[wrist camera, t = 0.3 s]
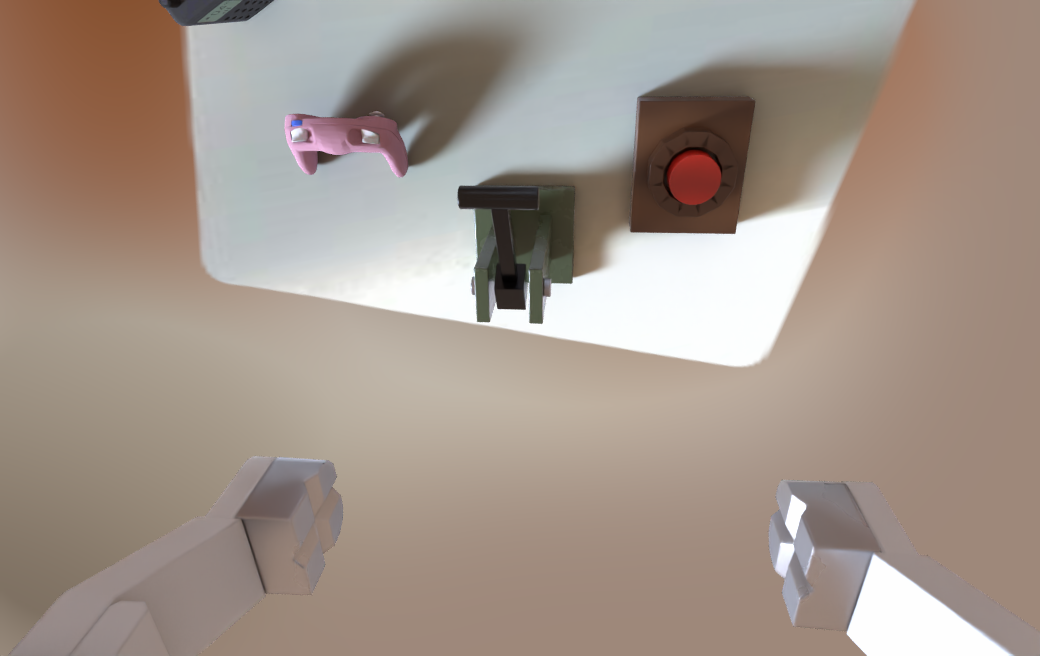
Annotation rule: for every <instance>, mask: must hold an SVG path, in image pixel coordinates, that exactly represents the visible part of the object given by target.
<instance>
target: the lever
mask: <svg viewBox="0 0 1040 656" xmlns="http://www.w3.org/2000/svg"><path fill="white" fill-rule="evenodd" d="M539 201H540V191H539V187H538V186H459V189H458V206H459V208H460V209H491V214H492V220H493V227H494V233H495V239H496V245H497V252H498V258H499V263H497V266H496V275H495V284H494V292H495V297H496V303H497V308H498V309H521V310H525V309H526V299H527V287H528V282H527V272H526V264H522V263H517V262H516V253H515V245H514V237H513V228H512V220H511V211H510V210H538V209H539Z"/></svg>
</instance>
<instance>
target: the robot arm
mask: <svg viewBox="0 0 1040 656" xmlns="http://www.w3.org/2000/svg"><path fill="white" fill-rule="evenodd" d="M336 478H337V476H336V472H335V468H334V464H333V463H332V462H330V461H328V460H316V459H300V458H286V457H279V458H277V457H264V456H253V457H251V458H249V459H248V460H247V461H246V462H245V463H244V464H243V466H242V467H241V468H240V470H239V471H238V472H237V474H236V475H235V477H234V478H233V479H232V481H231V482H230V483H229V485H228V486H227V487H226V489H225V490H224V492H223V493H222V494H221V496H220V497H219V498H218V500H217V501H216V502H215V504H214V505H213V506H212V508H211V509H210V510H209V512H208V513H207V514H206V516H205V517H195V518H193V519H192V520H190V521H188V522H186V523H185V524H183V525H181V526H179V527H178V528H176V529H174V530H172V531H171V532H169V533H167V534H166V535H164V536H162V537H160V538H159V539H157V540H155V541H153V542H152V543H150V544H148V545H146V546H145V547H143V548H141V549H139V550H138V551H136V552H134V553H132V554H131V555H129V556H127V557H126V558H124V559H122V560H120V561H118V562H117V563H115V564H113V565H111V566H110V567H108V568H106V569H104V570H103V571H101V572H99V573H97V574H96V575H94V576H92V577H91V578H89V579H87V580H85V581H83V582H82V583H80V584H78V585H76V586H75V587H73V588H71V589H69V590H68V591H66V592H64V593H62V594H61V595H60V597H59V598H58V599H57V600H56V601H55V602H54V603H53V605H52V606H51V607H50V608H49V609H48V610H47V611H46V612H45V614H44V615H43V616H42V617H41V618H40V619H39V620H38V622H37V623H36V624H35V625H34V626H33V627H32V628H31V629H30V631H29V632H28V633H27V634H26V635H25V636H24V637H23V639H22V640H21V641H20V642H19V643H18V644H17V646H16V647H15V648H14V649H13V650H12V651H11V652H10V653H9V655H8V656H198V655H199V654H200V653H201V652H203V651H204V650H205V649H206V648H207V647H208V646H209V645H210V644H212V643H213V642H214V641H215V640H216V639H217V638H219V637H220V636H221V635H222V634H223V633H224V632H225V631H226V630H228V629H229V628H230V627H231V626H232V625H233V624H235V623H236V622H237V621H238V620H239V619H240V618H241V617H242V616H244V615H245V614H246V613H247V612H248V611H249V610H250V609H252V608H253V607H254V606H255V605H256V604H257V603H259V602H260V601H261V600H262V599H263V598H264V597H265V596H266V595H265V594H292V595H312V593H313V590H314V588H315V586H316V584H317V582H318V580H319V578H320V576H321V574H322V571H323V569H324V567H325V561H324V557H323V554H324V553H325V552H326V551H328V550H329V549H330V548H332V547H333V546H334V545H335V543H336V541H337V538H338V536H339V534H340V530H341V525H342V520H343V504H342V499H341V495H340V494H339V493H338V492H337V491H336V490H335V489H334V488H333V487H332V485H333V484H334V482H335V480H336ZM776 500H777V503H778V505H779V508H780V509H779V510H778V511H777V512H776V513H775V514H773V515H772V516H771V521H770V527H769V549H770V555H771V560H772V563H773V566H774V569H775V571H776V572H777V573H778V574H779V575H780V576H782V577H783V578H784V579H785V581H784V586H783V590H782V594H783V597H784V600H785V603H786V606H787V609H788V612H789V615H790V618H791V621H792V624H793V627H805V628H815V629H826V630H837V631H847V635H848V636H849V637H850V638H851V639H852V640H853V641H854V642H855V643H856V644H857V645H858V646H859V647H860V649H861V650H862V651H863V652H864V653H865V654H866V655H867V656H1040V631H1038V630H1037V629H1035V628H1034V627H1032V626H1031V625H1029V624H1028V623H1026V622H1025V621H1024V620H1022V619H1021V618H1019V617H1018V616H1016V615H1015V614H1013V613H1012V612H1010V611H1009V610H1007V609H1006V608H1004V607H1003V606H1002V605H1000V604H998V603H997V602H996V601H994V600H993V599H991V598H990V597H988V596H987V595H985V594H984V593H983V592H981V591H980V590H978V589H977V588H975V587H974V586H972V585H971V584H969V583H968V582H966V581H965V580H963V579H962V578H960V577H959V576H957V575H956V574H955V573H953V572H952V571H950V570H949V569H947V568H946V567H944V566H943V565H942V564H940V563H938V562H937V561H936V560H934V559H933V558H931V557H930V556H928V555H919V554H918V553H917V551H916V550H915V548H914V546H913V544H912V543H911V541H910V539H909V538H908V536H907V534H906V533H905V531H904V529H903V528H902V526H901V524H900V523H899V521H898V519H897V518H896V516H895V514H894V513H893V511H892V509H891V508H890V506H889V504H888V503H887V501H886V500H885V498H884V496H883V494H882V493H881V491H880V489H879V488H878V486H876V485H875V484H874V483H872V482H827V481H824V482H823V481H799V480H797V481H796V480H781V482H780V484H779V485H778V489H777V493H776Z"/></svg>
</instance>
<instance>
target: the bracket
mask: <svg viewBox="0 0 1040 656" xmlns="http://www.w3.org/2000/svg"><path fill="white" fill-rule="evenodd" d="M538 187H539V191H540V201H539V209H538V210H510V211H511V220H512V228H513V237H514V245H515V253H516V262H517V263H522V264H526V272H527V282H528V283H529V323H538V324H542V323H543V317H544V309H545V302H546V297H550V296H551V283H570V284H572V280H573V238H574V196H575V187H574V186H538ZM474 218H475V236H476V255H477V262H476V265H475V267H474V277H472V281H471V292H472V295H475V297H476V314H477V322H490V320H491V316H492V313H493V310H494V306H495V303H496V297H495V292H494V284H495V275H496V266H497V263H499V258H498V252H497V245H496V239H495V233H494V227H493V220H492V214H491V209H474Z"/></svg>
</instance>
